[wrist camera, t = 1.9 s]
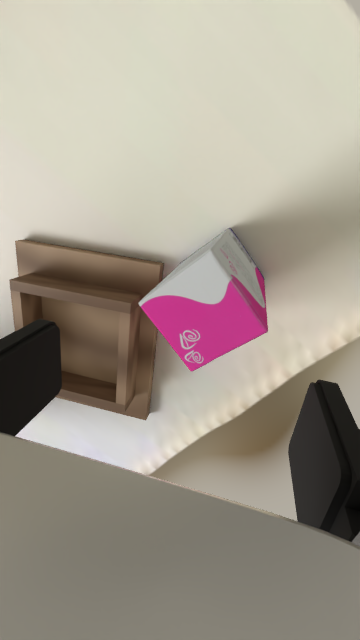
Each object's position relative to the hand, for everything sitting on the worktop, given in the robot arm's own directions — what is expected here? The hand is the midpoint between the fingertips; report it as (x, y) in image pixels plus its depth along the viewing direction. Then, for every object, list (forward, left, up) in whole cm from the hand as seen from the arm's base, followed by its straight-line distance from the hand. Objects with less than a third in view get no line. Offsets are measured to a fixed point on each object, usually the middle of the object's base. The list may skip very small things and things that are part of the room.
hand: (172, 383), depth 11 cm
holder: (+9, -13, -18) cm, 24 cm away
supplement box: (0, 0, -19) cm, 19 cm away
